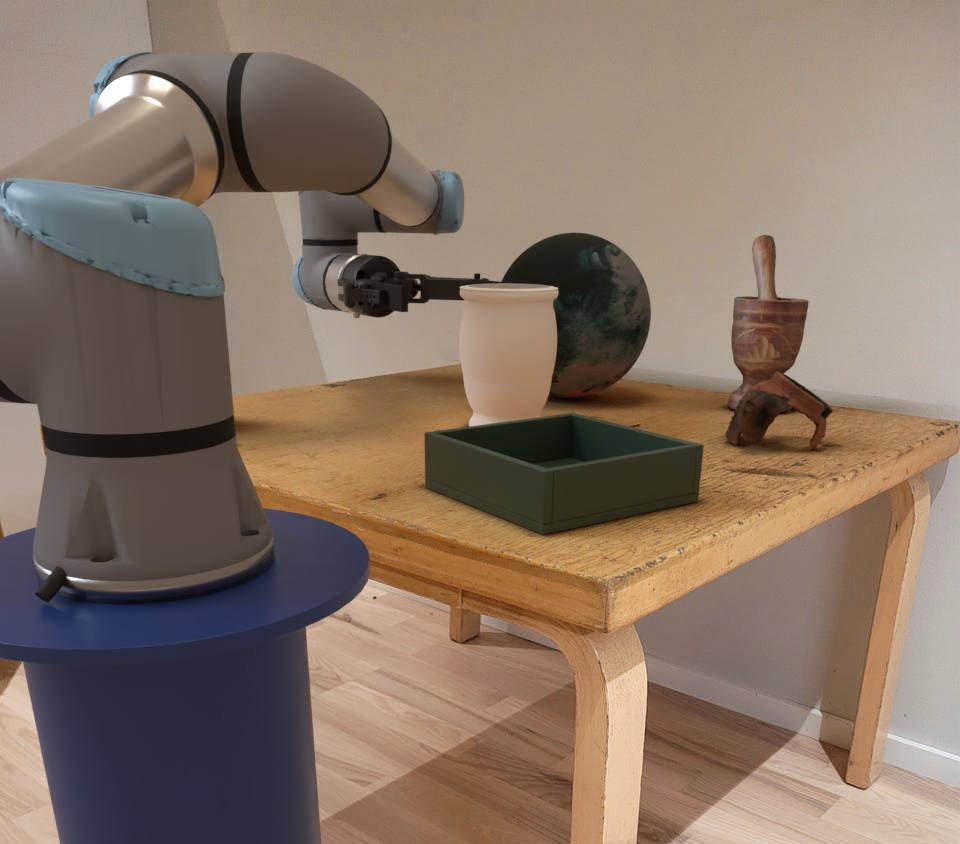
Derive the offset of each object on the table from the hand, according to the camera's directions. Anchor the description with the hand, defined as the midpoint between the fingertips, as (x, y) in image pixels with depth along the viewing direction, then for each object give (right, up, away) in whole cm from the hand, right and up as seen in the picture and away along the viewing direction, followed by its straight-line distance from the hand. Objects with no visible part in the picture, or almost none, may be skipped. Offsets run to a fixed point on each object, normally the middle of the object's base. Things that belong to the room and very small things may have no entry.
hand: (456, 296), depth 110 cm
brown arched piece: (+33, -19, -9) cm, 39 cm away
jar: (+6, -16, -2) cm, 17 cm away
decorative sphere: (+14, -7, +17) cm, 23 cm away
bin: (+10, -27, -28) cm, 40 cm away
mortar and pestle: (+37, -10, +11) cm, 40 cm away
